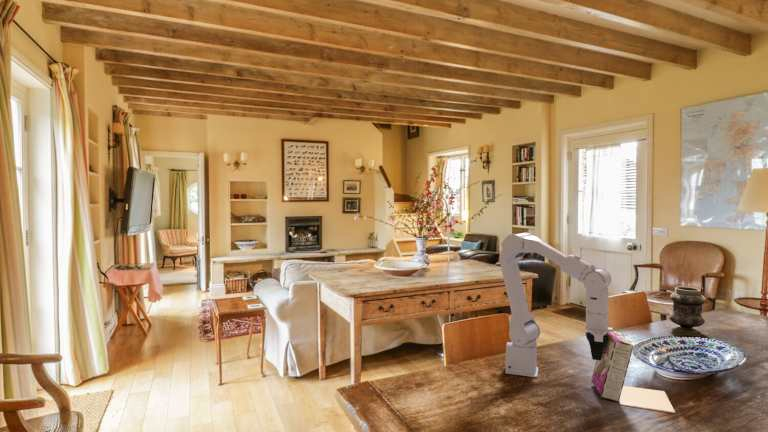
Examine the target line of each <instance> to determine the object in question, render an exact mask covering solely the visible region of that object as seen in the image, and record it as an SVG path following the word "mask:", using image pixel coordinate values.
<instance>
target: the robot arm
mask: <svg viewBox="0 0 768 432" xmlns="http://www.w3.org/2000/svg"><path fill="white" fill-rule="evenodd" d="M500 244H501V253H500V256H499V264H500V268H501V273H502V277H503V281H504V286H505V291H506V294H507V295H506V296H507V299H508V302H509V303H508V305H509V307H510V312H511V317H510V319H509V323H508V325H509V332H508V337H509V340H510V341H507V342H506V345H505V364H504V365H505V372H504V373H505V374H509V375H515V376H523V377H531V378H538V374H539V367H538V366H537V363H538V362H537V356H538V353H537V348H538V347H537V346H538V345H537V339H538V338H539V337H540V335H541V328H540V326H539V324H538V323H537V321H536V318H535V316H534V315H533V314H532V313H531V311H530V309H529V305H528V301H527V298H526V297H527V296H526V293H525V288H524V285H523V280H522V275H521V270H520V265H519V263H520V261H521V260H522V259H523V258H524V256H525V255H526V254H530V253H536V254H538V255H540V256H541V257H544V258H545V259H548V260H550V261H552V262H554V263H556V264H557V265H559V267H560V269H561V271H562V272H563V273H564V274H567V275H569V276H570V277H571V278H573V279H575V280H576V281H579V282H580V283H582V285H583V287H585V289H586V294H585V325H584V330H586V332H585V336H586V340H587V342H588V344H589V347H590V354H591V359H592V360H593V361H596V360H601V358H602V354H603V349H604V346H605V344H606V343H607V341H608V335H607V333H608V332H613V331H614V329H613V327H609V299H610V298H609V286H610V285H611V284H612V276H611V273H609V271H607V270H606V268H604V267H597V265H596V264H591V263H589V262H587V261H585V260H583V259H582V256H581V255H579V254H569V255H567V254H564V253H562V252H561V251H559V250H558V249H556V248H554V247H553V246H551V245H550V244H548V243H547V242H545V241H543V240H541V239H540V237H538V236H536V235H532V234H531V233H529V232H526V231H524V232H521V233H510V234H508V235H507V236H506V237H505V238H504V239H503V240H502V241H501V243H500Z"/></svg>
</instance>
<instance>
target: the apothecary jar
mask: <svg viewBox="0 0 768 432" xmlns="http://www.w3.org/2000/svg"><path fill="white" fill-rule="evenodd" d="M669 297H670V300H671V301H672V302H673V304H672V311H670V313H669V314H668V319H669V320H670V321H671V322H672V323H673V324H675V325H679V326H676V327H674V328H671V331H672V332H673V333H676V334H679V335H682V336H683V335H684V336H689V337H690V336H694V337H695V336H696V337H698V336H701V335H702V333H701V331H699V330H697V329H695V328H698V327H700V326H703V325H704V324H705V322H706V320H705V317H704V316H703V315H702V305H703V304H704V303H705V302H706V298H705V296H704V295H703V294H702V291H701V289H700V288H697V287H692V286H691V287H690V286H683V285H682V286H681V285H680V286H675V288H674V291H673V292H671V293H670V295H669Z"/></svg>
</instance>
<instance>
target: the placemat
mask: <svg viewBox="0 0 768 432" xmlns="http://www.w3.org/2000/svg"><path fill="white" fill-rule="evenodd" d="M619 405H620V406H624V407H631V408H637V409H643V410H651V411H659V412H662V413H663V412H665V413H671V414H676V411H675V409H674V407H673V405H672V404H671V401H670V399H669V397H668V395H667V394H666V392H665V390H658V389H652V388H643V387H635V386H628V385H623V388H622V392H621V395H620V399H619Z"/></svg>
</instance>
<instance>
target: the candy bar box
mask: <svg viewBox="0 0 768 432" xmlns="http://www.w3.org/2000/svg"><path fill="white" fill-rule="evenodd" d="M607 335H608V341H607V343H606V344H605V346H604V349H603V354H602V358H601V360H595V365H594V368H593V372H592V375H591V379H590V381H591V382H592V384H593V385H594V387H595V389H596V391H597V392H598V393H599V395H600V397H601V398H603V399H607V400H610V401H615V402H619V399H620V395H621V392H622V388H623V386H624V384H625V379H626V376H627V373H628V369H629V365H630V362H631V358H632V352H633V349H634V346H635V345H634V344H633V343H632V342H631V341H630V340H629V339H628V338H627V337H626V336H625V335H624V334H623V333H622V332H619V331H615V330H613V332H608V333H607ZM619 403H620V402H619Z"/></svg>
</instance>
